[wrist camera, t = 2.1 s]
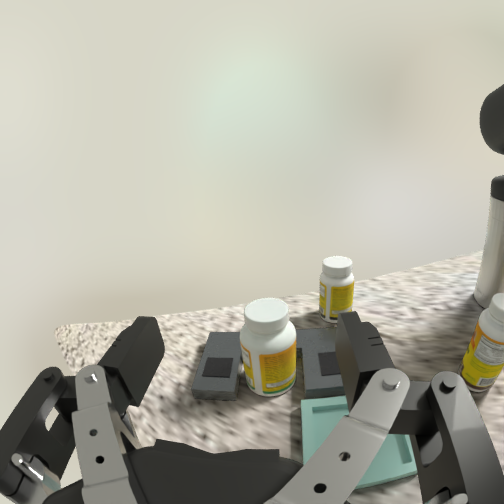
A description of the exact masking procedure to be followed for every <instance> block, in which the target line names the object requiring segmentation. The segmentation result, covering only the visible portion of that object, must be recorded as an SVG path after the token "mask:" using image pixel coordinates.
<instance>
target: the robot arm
mask: <svg viewBox="0 0 504 504" xmlns="http://www.w3.org/2000/svg"><path fill="white" fill-rule="evenodd" d="M480 128H481V133H482V136H483V138H484V140H485V142H486V144H487V145H488V146H489V147H490V148H491V149H492V150H493V151H495V152H497V153H500V154H503V155H504V84H503V85H502V86H501V87H499V88H498V89H496V90H495V91H493V92H492V93H490V94H489V95H488V96H487V97H486V99H485V100H484V102H483V105H482V107H481V111H480ZM497 293H504V175H502V176H498V177H495V178H494V179H493V180H492V183H491V196H490V209H489V219H488V228H487V234H486V240H485V246H484V252H483V257H482V262H481V267H480V271H479V275H478V279H477V283H476V287H475V291H474V298H475V300H476V301H477V302H478V303H479V304H480V305H481V306H482V307H484V308H485V309H487V308H489V305H490V303H491V300H492V298H493V296H494V295H495V294H497ZM335 351H336V357H337V361H338V365H339V369H340V374H341V378H342V382H343V387H344V391H345V396H346V400H347V405H348V409H349V414H348V415H344V416H343V417H342V418H341V419H340V421H339V422H338V423H337V425H336V426H335V428H334V429H333V430H332V432H331V433H330V434H329V435H328V437H327V438H326V439H325V441H324V442H323V443H322V444H321V446H320V447H319V448H318V449H317V451H316V452H315V453H314V454H313V455H312V457H311V458H310V459H309V460H308V461H307V462H306V464H305V465H303V464H301V463H299V462H296V461H294V460H291V459H287V458H283V457H279V449H269V450H263V449H245V450H239V451H232V452H225V453H216V454H213V453H209V452H206V451H203V450H200V449H197V448H195V447H192V446H189V445H187V444H184V443H178V442H172V441H166V440H161V439H156V442H155V445H154V446H150V447H143V448H142V446H141V444H140V442H139V440H138V437H137V435H136V432H135V429H134V426H133V424H132V421H131V418H130V415H129V412H128V411H127V408H128V406H129V405H132V406H136V407H139V405H140V403H141V401H142V399H143V397H144V395H145V393H146V391H147V389H148V387H149V385H150V382H151V380H152V378H153V376H154V374H155V372H156V370H157V368H158V366H159V364H160V362H161V360H162V358H163V356H164V352H165V346H164V342H163V339H162V336H161V333H160V329H159V326H158V323H157V320H156V318H155V317H144V316H139V317H137V319H136V320H135V321H134V323H133V324H132V325H131V326H129V327H128V328H126V329H125V330H123V331H122V332H121V333H120V334H119V336H118V337H117V338H116V341H114V342H113V344H112V346H110V348H109V349H108V350H107V352H106V353H105V355H104V356H103V357H102V359H101V360H100V362H99V363H98V364H97V365H89V366H86V367H84V368H82V369H81V370H80V371H79V372H78V373H77V375H76V376H64V375H63V373H62V372H61V370H60V369H59V368H57V367H49V368H46V369H45V370H43V371H42V372H41V373H40V374H39V375H38V376H37V378H36V379H35V381H34V382H33V383H32V385H31V386H30V387H29V389H28V390H27V391H26V393H25V395H24V396H23V397H22V399H21V400H20V401H19V403H18V405H17V406H16V407H15V409H14V410H13V412H12V413H11V415H10V416H9V418H8V419H7V421H6V422H5V424H4V425H3V427H2V429H1V430H0V493H1V494H2V495H3V496H5V497H6V498H8V499H9V500H11V501H12V502H14V503H15V504H350V503H349V502H348V501H347V498H348V497H349V496H350V494H351V493H352V491H353V490H354V489H355V487H356V486H357V484H358V483H359V481H360V480H361V478H362V477H363V475H364V474H365V472H366V471H367V469H368V467H369V466H370V464H371V463H372V461H373V459H374V458H375V456H376V454H377V452H378V451H379V449H380V447H381V445H382V444H383V442H384V440H385V438H386V436H387V434H400V435H409V437H410V441H411V446H412V450H413V454H414V459H415V463H416V468H417V473H418V478H419V483H420V489H421V495H422V501H423V504H504V475H503V472H502V469H501V466H500V463H499V460H498V457H497V454H496V451H495V449H494V446H493V443H492V441H491V438H490V436H489V433H488V431H487V428H486V426H485V424H484V421H483V419H482V417H481V415H480V413H479V410H478V408H477V406H476V404H475V402H474V400H473V398H472V396H471V394H470V392H469V390H468V388H467V386H466V384H465V382H464V380H463V379H462V377H461V376H459V375H458V374H457V373H454V372H451V371H442V372H439V373H437V374H436V375H435V376H434V377H433V379H432V381H431V382H427V381H412V380H409V378H408V377H407V375H406V374H405V373H404V372H402V371H400V370H398V369H395V367H394V365H393V362H392V360H391V358H390V356H389V354H388V351H387V349H386V347H385V345H384V344H383V341H382V339H381V338H380V335H379V332H378V330H377V328H376V327H374V326H373V325H372V324H371V323H369V322H361V321H360V318H359V316H358V314H357V312H356V311H353V312H342V313H339V314H338V319H337V330H336V340H335ZM53 407H55V409H56V410H57V411H58V413H59V415H58V416H57V418H56V420H55V421H54V423H53V425H52V427H51V428H50V430H49V431H48V430H47V429H46V426H45V420H46V418H47V416H48V415H49V413H50V411H51V410H52V408H53ZM75 446H76V449H77V454H78V459H79V464H80V469H81V474H82V479H81V480H78V481H77V482H75V483H73V484H70V485H69V486H66V487H64V488H61V485H60V480H61V478H62V475H63V473H64V470H65V468H66V466H67V464H68V461H69V459H70V457H71V455H72V453H73V451H74V449H75Z"/></svg>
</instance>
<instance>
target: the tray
mask: <svg viewBox="0 0 504 504" xmlns="http://www.w3.org/2000/svg"><path fill="white" fill-rule="evenodd" d="M348 414H349V409H348V405H347V400H346V396H339V397H330V398H320V399H308V400H301V424H302V449H303V465H305V464H306V462H307V461H308V460H309V459H310V458H311V457H312V455H313V454H314V453H315V452H316V451H317V449H318V448H319V447H320V446H321V444H322V443H323V442H324V441H325V439H326V438H327V437H328V435H329V434H330V433H331V432H332V430H333V429H334V428H335V426H336V425H337V423H338V422H339V421H340V419H341V418H342V417H343V416H344V415H348ZM414 474H417V468H416V463H415V459H414V454H413V450H412V446H411V441H410V437H409V435H400V434H387V436H386V438H385V440H384V442H383V444H382V445H381V447H380V449H379V451H378V452H377V454H376V456H375V458H374V459H373V461H372V463H371V464H370V466H369V467H368V469H367V471H366V472H365V474H364V475H363V477H362V478H361V480H360V481H359V483H358V484H357V486H356V487H355V489H360V488H365V487H369V486H374V485H378V484H382V483H386V482H390V481H394V480H398V479H401V478H404V477H408V476H411V475H414Z"/></svg>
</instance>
